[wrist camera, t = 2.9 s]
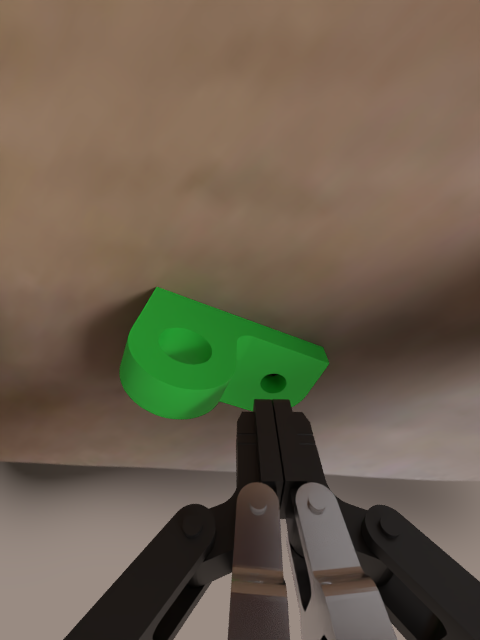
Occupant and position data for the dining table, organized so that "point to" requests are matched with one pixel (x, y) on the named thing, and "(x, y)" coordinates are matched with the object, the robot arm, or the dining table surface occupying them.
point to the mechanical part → (211, 359)
